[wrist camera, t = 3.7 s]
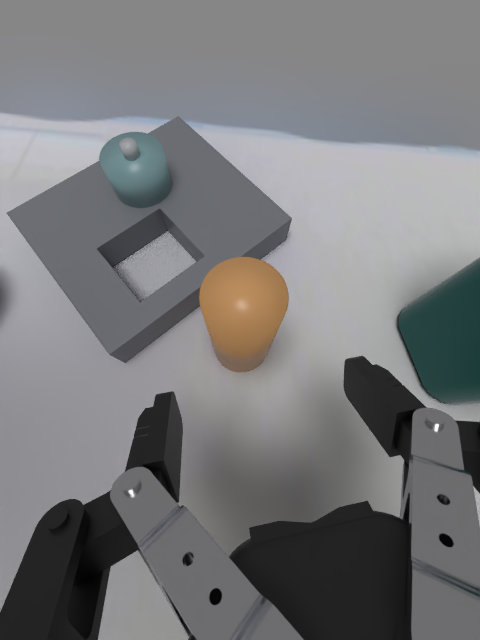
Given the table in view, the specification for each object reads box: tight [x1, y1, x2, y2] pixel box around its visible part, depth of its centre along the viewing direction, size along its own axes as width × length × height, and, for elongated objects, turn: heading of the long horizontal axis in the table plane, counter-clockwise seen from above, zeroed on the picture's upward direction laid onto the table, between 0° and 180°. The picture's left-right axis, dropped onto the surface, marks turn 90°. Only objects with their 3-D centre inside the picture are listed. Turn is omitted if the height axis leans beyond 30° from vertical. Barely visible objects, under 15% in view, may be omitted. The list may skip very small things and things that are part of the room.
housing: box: [7, 117, 292, 362], centre depth 23 cm, size 18×16×7 cm
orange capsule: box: [199, 257, 289, 372], centre depth 19 cm, size 4×4×10 cm
